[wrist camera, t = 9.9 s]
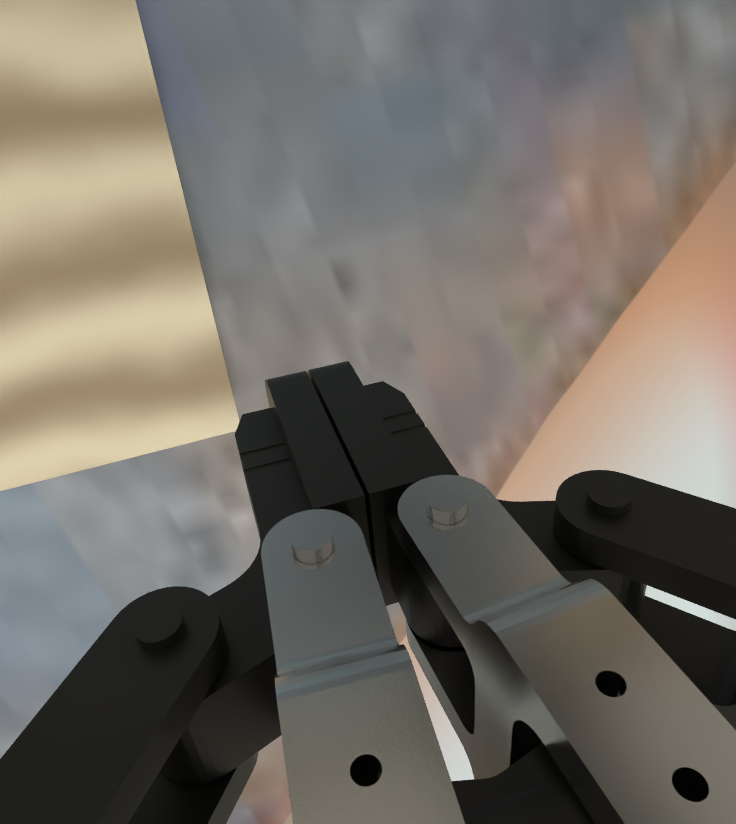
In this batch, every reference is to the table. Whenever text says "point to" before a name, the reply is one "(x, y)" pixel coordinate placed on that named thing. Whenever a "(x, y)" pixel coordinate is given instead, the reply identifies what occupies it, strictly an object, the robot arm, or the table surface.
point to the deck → (95, 252)
